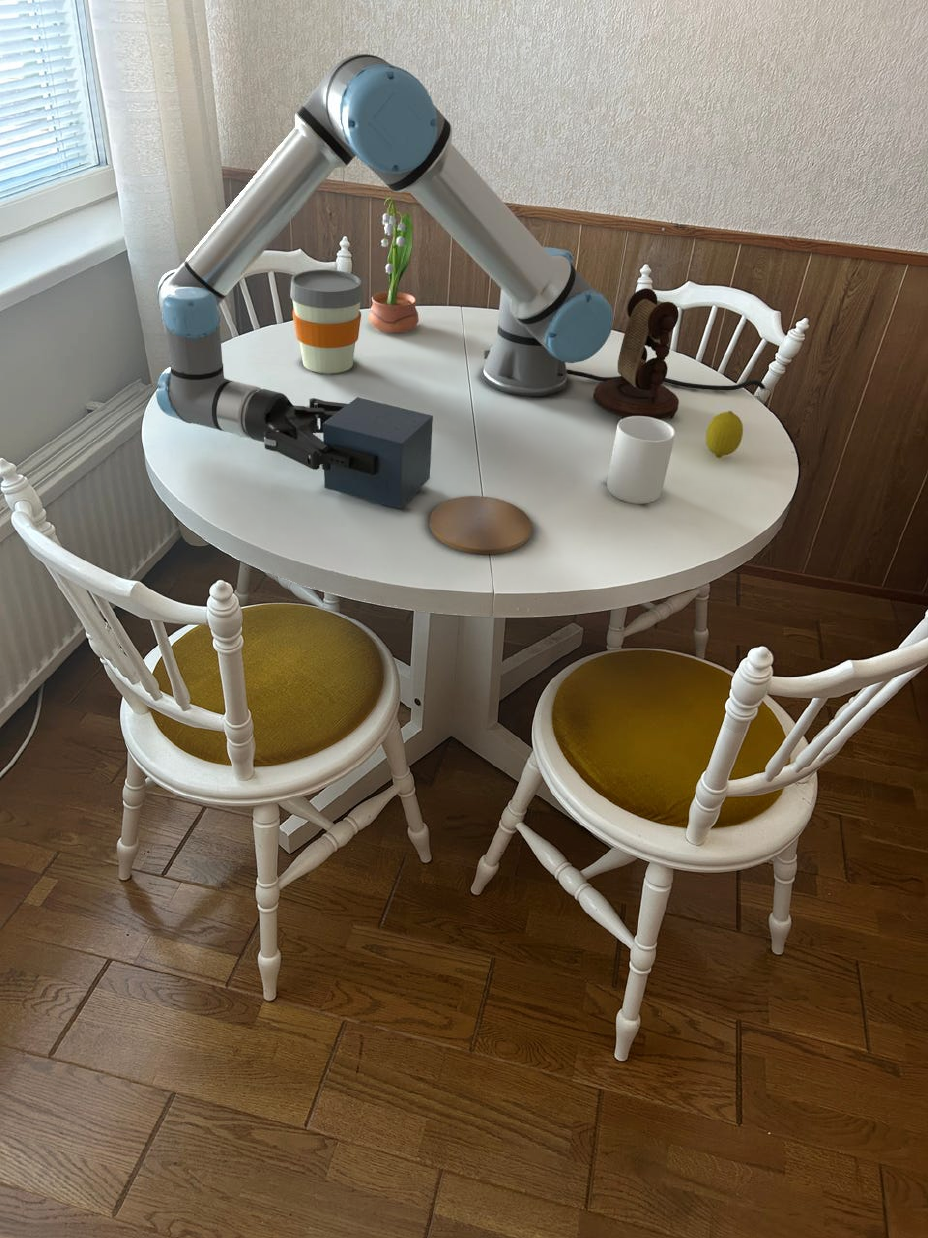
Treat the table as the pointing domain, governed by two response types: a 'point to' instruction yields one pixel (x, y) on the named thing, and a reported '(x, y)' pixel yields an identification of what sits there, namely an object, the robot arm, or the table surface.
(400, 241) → the potted flower
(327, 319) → the reusable coffee cup
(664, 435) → the mug
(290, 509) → the table surface
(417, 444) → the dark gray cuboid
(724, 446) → the lemon
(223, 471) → the table surface
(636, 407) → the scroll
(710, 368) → the table surface
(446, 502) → the cork trivet
